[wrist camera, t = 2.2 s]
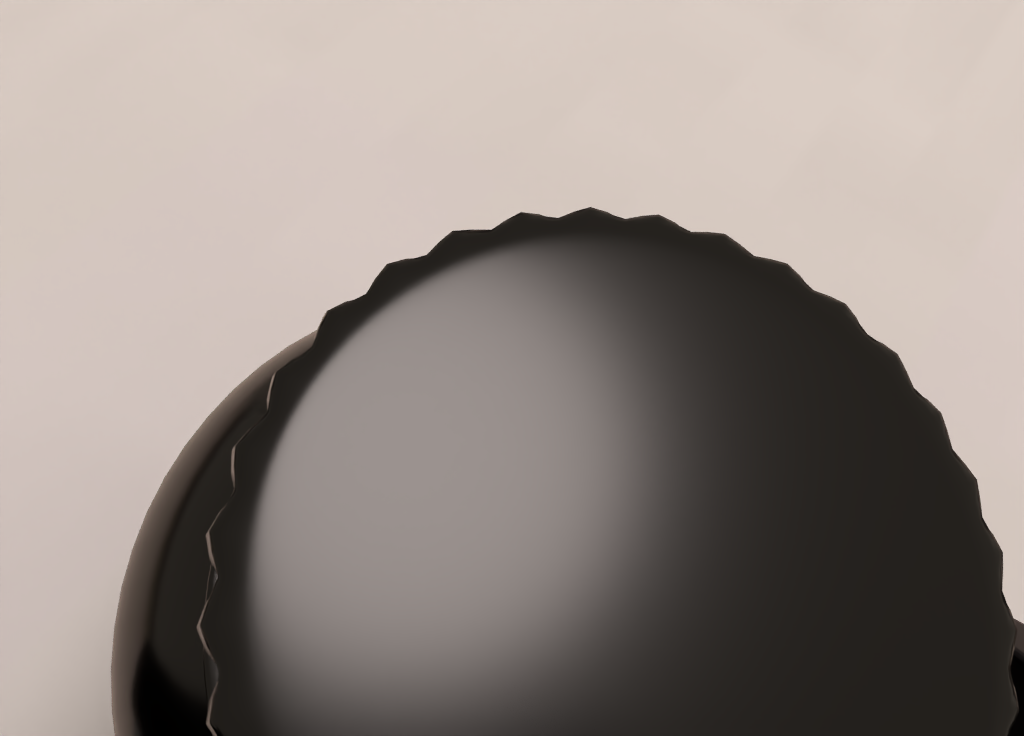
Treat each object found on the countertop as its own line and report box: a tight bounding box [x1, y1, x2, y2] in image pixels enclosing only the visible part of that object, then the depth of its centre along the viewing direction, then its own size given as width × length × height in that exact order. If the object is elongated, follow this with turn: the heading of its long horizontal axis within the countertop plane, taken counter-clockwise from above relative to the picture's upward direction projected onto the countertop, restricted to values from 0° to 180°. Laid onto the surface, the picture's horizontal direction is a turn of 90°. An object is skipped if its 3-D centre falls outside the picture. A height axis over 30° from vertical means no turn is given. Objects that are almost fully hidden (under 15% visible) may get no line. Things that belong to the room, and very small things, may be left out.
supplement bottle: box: [111, 207, 1019, 736], centre depth 11 cm, size 7×7×12 cm
